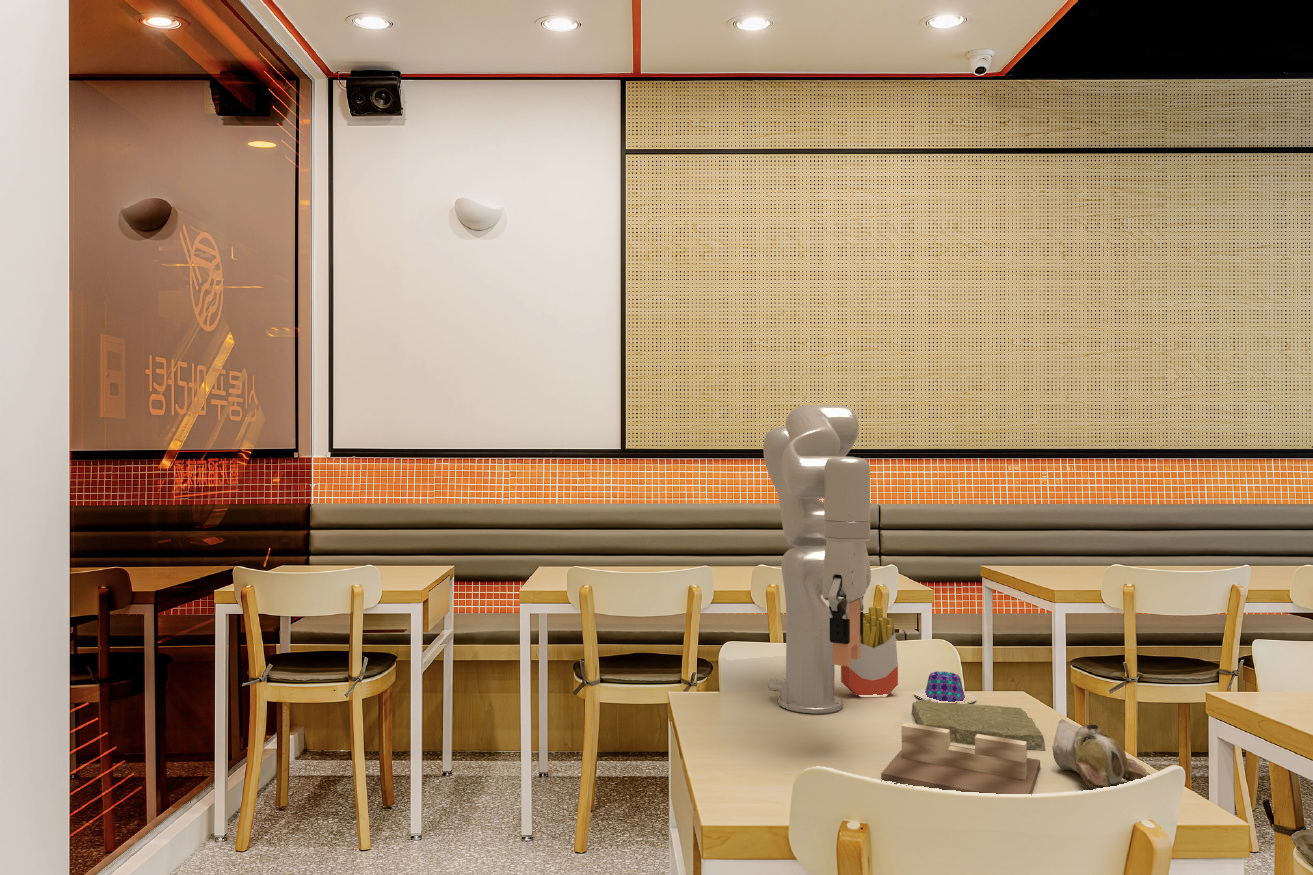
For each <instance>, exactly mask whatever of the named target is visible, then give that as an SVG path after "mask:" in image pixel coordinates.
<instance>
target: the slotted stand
mask: <svg viewBox="0 0 1313 875" xmlns="http://www.w3.org/2000/svg"><path fill="white" fill-rule="evenodd" d="M1040 769H1041V760H1040V759H1036V758H1032V757H1031V758H1030V757H1028V750H1027V742H1026V741H1020V740H1014V739H1007V738H1001V737H994V736H988V735H981V734H977V735H976V736H975V745H974V748H969V747H963V746H957V745H952V744H951V742H950V730H949V729H943V728H936V727H930V726H923V725H917V724H916V723H909V722H904V723H902V725H901V749H900V751H899V752H898V753H897V754H896V755H895V756H894V758H893V759H892V760H891V761H890V763H888V765H887V766H886V767H885V768H884V769H883V770H882V771H881V773H880V780H881V779H882V780H884V781H892V782H896V783H900V784H908V785H913V786H924V787H929V788H939V789H942V790H956V791H961V792H979V793H996V794H1031V795H1033V791H1034V787H1035V785H1036V782H1037V779H1038V776H1039V772H1040Z"/></svg>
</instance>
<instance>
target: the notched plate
mask: <svg viewBox="0 0 1313 875" xmlns="http://www.w3.org/2000/svg"><path fill="white" fill-rule="evenodd" d="M841 599H845V598H843V597H841ZM839 604H840V603H839ZM841 605H842V608H844V604H841ZM847 619H850V643H849V644H840V643H833V664H834V666H840V667H841V666H849V665H851V659H855V660H858V659H859V658H860V599H856V600H854V601H852V602H850V604H849V611H848V618H847Z"/></svg>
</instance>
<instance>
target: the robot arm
mask: <svg viewBox="0 0 1313 875" xmlns="http://www.w3.org/2000/svg"><path fill="white" fill-rule="evenodd" d="M859 428H860V426H859V421H858V416H857V414H856V412H855V411H854V410H853V409H852V408H850V407H849V406H847V405H838V404H836V405H834V404H833V405H832V404H831V405H830V404H829V405H828V404H823V405H822V404H806V405H799V406H797V407H795V408H794V409H792V410H791V411H790V412H789V413H788V415H787V417H786V420H785V426H778V427H775V428H772V429H770V430H769V431H768V432H767V433H766V434H765V436H764V438H763V446H762V448H763V449H762V451H763V459H764V463H765V464H764V465H765V468H766V471H767V474H768V476H769V478H770V481H771V482H772V484H773V487H774V488H775V490H776V492H777V496H778V497H777V498H778V503H779V512H780V518H781V524H782V531H783V534H784V537H785V540H786V541H787V543H788V544H789V545H790V546H792V548H789V549H788V550H787V551H785V553H783V556H782V559H781V575H782V582H783V588H784V598H785V627H786V628H785V630H786V631H785V632H786V634H785V635H786V636H785V640H786V641H785V644H786V645H785V649H786V651H785V652H786V655H785V657H786V658H785V662H786V663H785V664H786V665H785V666H786V667H785V669H786V671H785V679H784V678H783V680H780V679H776V678H769V679H768V680H767V687H768V690H769V691H774V692H776V691H777V692H779V693H780V694H781V695H779V696H778V701H777V703H778V705H779V706H780V707H781V706H782V707H781V708H784V709H785V708H786V709H785V710H788V711H791V710H792V711H791V712H797V713H801V712H802V713H803V714H814V715H815V714H819V715H820V714H831V713H834V712H838V711H840V710H841V709H843V707H844V706H843V703H844V701H843V700H842V699H841V698H840V697H838V696H837V695H835V691H836V690H835V665H834V664H833V643H840V644H849V643H850V619H847V618H848V611H849V604H850V602H852V601H854V600H856V599H860V636H861V635H863V618H864V596H865V595H866V592H867V590H868V588H869V587H870V584H871V581H872V580H871V578H872V573H871V572H872V571H871V570H872V569H871V563H870V559H869V553H868V550H867V544H866V543H867V542H871V466H870V462H869V461H868V460H867V459H866V458H861V457H857V456H856V457H855V456H847V455H848V454H849V452H850V451H851V450H852V448H853V447H854V445H855V444H856V441H857V439H858V436H859ZM821 499H822V500H823V499H824V500H823V501H821ZM822 598H823V599H824V600H825V601H827V602H828V605H829V606H828V605H827V604H826V603H825V601H824V600H823V599H822ZM842 598H845V599H842ZM839 603H840V604H839ZM841 604H844V608H842V605H841ZM802 713H801V714H802Z"/></svg>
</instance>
